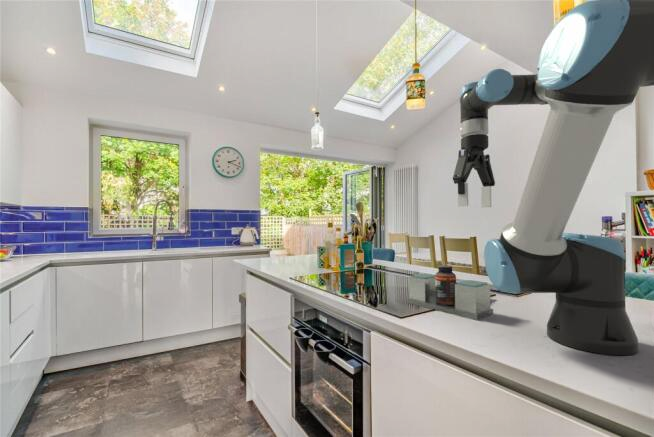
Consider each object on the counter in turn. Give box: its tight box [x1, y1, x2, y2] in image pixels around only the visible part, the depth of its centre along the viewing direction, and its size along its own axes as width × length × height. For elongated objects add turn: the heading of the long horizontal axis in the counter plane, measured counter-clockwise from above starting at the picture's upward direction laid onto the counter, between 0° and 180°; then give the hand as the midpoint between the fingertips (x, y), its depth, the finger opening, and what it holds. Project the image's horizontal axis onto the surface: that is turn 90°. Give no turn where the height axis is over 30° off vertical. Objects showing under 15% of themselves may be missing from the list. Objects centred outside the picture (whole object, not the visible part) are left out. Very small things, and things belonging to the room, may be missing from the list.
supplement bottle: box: [434, 264, 457, 305], centre depth 95 cm, size 6×6×11 cm
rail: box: [406, 273, 494, 321], centre depth 95 cm, size 23×9×9 cm, turn 37°
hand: (475, 206), depth 95 cm, fingers open, 13 cm apart
